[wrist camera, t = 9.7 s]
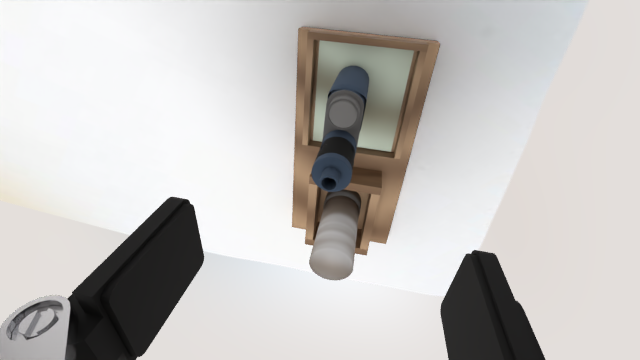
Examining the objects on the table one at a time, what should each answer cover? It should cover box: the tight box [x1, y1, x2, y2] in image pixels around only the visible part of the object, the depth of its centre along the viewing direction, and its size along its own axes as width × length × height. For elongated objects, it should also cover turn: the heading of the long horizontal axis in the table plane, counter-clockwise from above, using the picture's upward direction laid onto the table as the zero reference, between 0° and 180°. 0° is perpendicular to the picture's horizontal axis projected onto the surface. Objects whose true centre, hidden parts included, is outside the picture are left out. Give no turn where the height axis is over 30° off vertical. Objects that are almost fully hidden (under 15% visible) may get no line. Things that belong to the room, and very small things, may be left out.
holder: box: [292, 27, 440, 280], centre depth 26 cm, size 21×11×10 cm, turn 176°
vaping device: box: [311, 66, 369, 192], centre depth 21 cm, size 3×5×12 cm, turn 174°
